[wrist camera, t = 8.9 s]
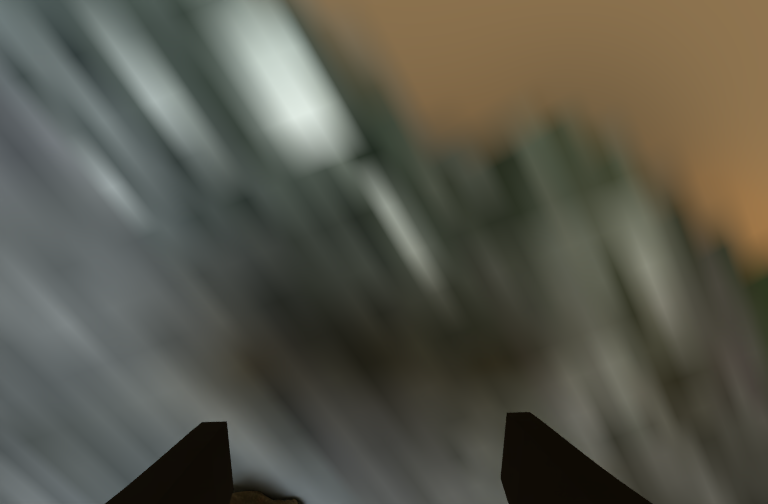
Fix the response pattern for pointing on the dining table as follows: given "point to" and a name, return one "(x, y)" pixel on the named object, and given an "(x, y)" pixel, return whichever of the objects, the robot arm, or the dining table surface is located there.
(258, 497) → the stone block
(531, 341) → the dining table surface
